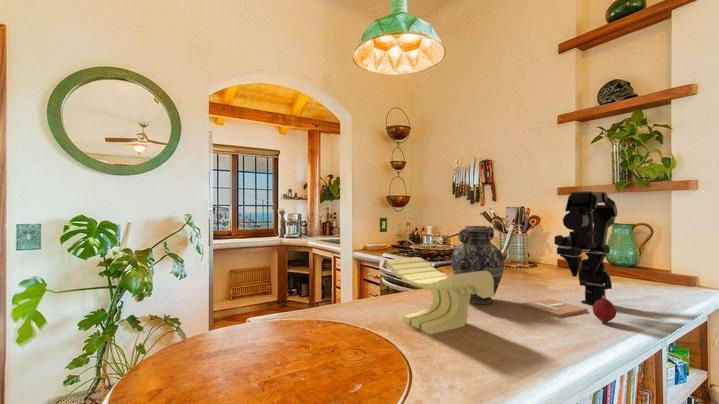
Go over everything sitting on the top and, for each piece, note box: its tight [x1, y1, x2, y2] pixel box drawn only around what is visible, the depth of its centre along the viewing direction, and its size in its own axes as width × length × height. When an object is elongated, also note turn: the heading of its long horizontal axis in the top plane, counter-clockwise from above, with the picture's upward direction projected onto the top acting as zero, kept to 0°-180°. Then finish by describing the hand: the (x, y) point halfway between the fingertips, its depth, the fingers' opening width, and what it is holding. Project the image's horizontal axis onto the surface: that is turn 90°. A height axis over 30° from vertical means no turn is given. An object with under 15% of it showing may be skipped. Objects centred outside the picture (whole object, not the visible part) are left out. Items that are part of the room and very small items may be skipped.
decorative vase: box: [451, 225, 505, 305], centre depth 128 cm, size 21×19×28 cm
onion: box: [592, 295, 617, 324], centre depth 103 cm, size 6×6×8 cm
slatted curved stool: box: [386, 256, 495, 335], centre depth 104 cm, size 30×16×18 cm, turn 29°
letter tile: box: [521, 298, 588, 318], centre depth 117 cm, size 14×14×1 cm
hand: (583, 275), depth 114 cm, fingers open, 9 cm apart
